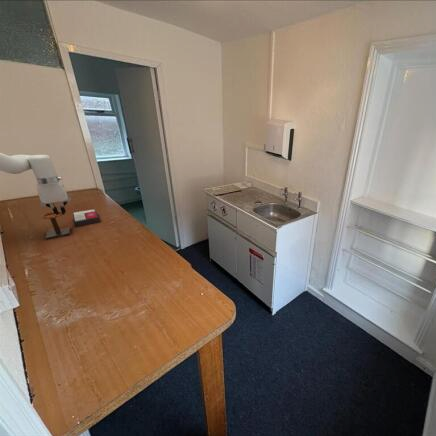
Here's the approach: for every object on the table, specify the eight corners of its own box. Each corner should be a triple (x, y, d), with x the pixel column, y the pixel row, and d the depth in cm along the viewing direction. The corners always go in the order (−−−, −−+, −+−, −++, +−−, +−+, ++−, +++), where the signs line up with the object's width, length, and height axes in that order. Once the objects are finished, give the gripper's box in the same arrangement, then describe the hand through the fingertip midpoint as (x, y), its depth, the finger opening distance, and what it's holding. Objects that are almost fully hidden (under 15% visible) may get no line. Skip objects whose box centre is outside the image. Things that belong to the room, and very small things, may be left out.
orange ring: (41, 220, 116) (40, 218, 115) (42, 215, 121) (41, 213, 121) (62, 216, 121) (61, 214, 120) (63, 212, 126) (62, 210, 126)
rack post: (46, 239, 119) (38, 221, 115) (48, 233, 125) (41, 216, 121) (69, 234, 124) (63, 217, 121) (70, 228, 131) (64, 212, 127)
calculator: (73, 221, 132) (72, 211, 141) (76, 227, 134) (74, 218, 143) (98, 216, 139) (94, 208, 148) (100, 222, 141) (96, 214, 150)
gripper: (69, 177, 123) (80, 209, 130) (26, 180, 113) (40, 215, 121) (68, 180, 118) (80, 213, 125) (23, 184, 108) (39, 220, 115)
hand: (60, 214), depth 123 cm, fingers closed on orange ring, 1 cm apart
